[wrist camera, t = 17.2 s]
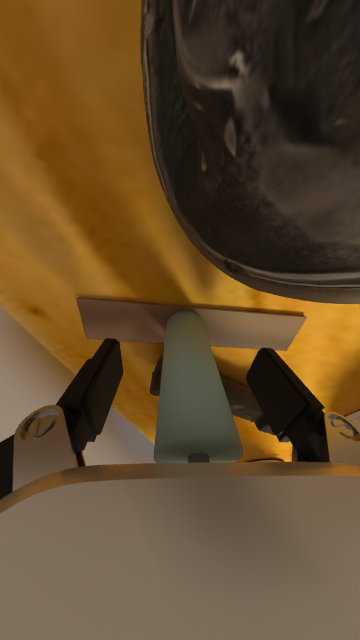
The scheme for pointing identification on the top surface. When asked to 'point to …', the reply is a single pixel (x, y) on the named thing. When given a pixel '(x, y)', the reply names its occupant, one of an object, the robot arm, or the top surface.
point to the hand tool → (237, 398)
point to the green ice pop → (192, 399)
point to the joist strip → (219, 323)
